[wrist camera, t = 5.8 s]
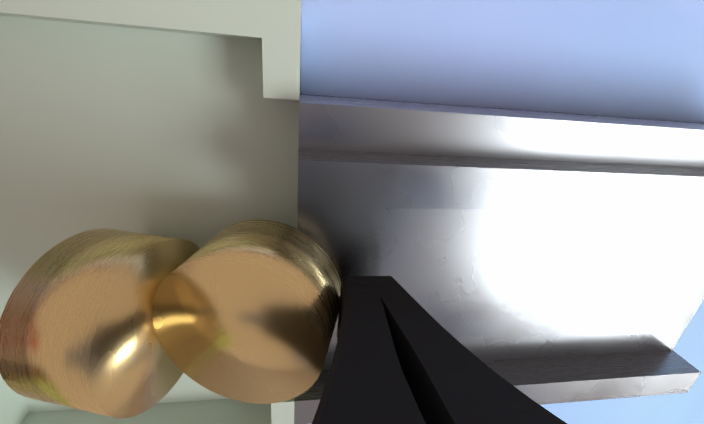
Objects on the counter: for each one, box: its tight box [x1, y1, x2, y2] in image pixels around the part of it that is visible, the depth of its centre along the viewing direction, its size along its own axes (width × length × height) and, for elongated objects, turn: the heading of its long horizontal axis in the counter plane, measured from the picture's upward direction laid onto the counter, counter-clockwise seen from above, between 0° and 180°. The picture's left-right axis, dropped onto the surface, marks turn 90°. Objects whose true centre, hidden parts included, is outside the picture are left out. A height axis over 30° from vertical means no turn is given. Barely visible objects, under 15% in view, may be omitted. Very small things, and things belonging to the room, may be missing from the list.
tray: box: [0, 0, 301, 424], centre depth 9 cm, size 14×10×2 cm
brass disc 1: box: [0, 228, 200, 419], centre depth 8 cm, size 4×4×2 cm
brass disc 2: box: [152, 219, 341, 404], centre depth 8 cm, size 4×4×2 cm
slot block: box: [294, 95, 704, 424], centre depth 11 cm, size 10×14×3 cm
